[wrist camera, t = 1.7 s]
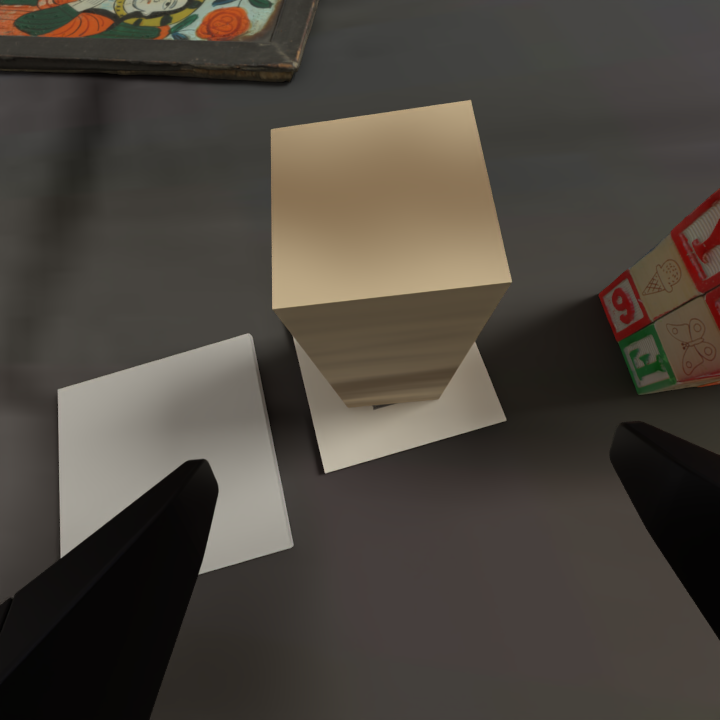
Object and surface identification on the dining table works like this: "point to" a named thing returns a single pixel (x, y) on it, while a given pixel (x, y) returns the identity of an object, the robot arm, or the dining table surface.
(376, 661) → the dining table surface
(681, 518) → the robot arm
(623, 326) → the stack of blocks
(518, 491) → the dining table surface
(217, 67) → the painting
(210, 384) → the pad
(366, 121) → the maple block
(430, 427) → the tile
